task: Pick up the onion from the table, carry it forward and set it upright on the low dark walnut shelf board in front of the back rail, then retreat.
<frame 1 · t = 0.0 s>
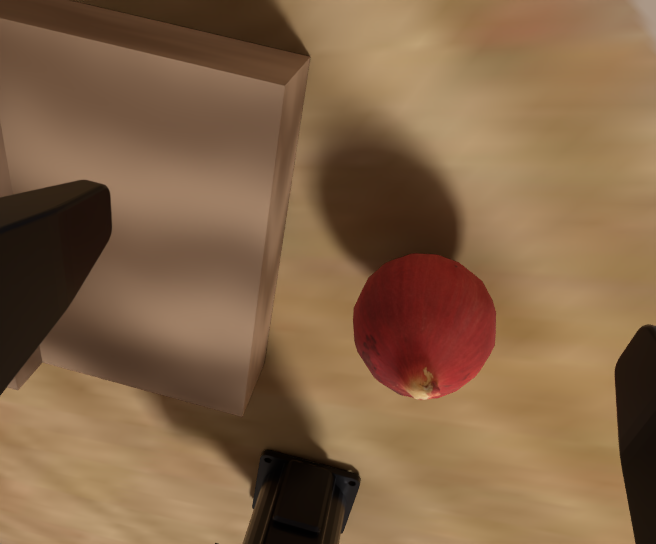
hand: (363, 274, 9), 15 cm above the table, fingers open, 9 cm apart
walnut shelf: (163, 207, 27), on the table
onion: (426, 271, 27), on the table
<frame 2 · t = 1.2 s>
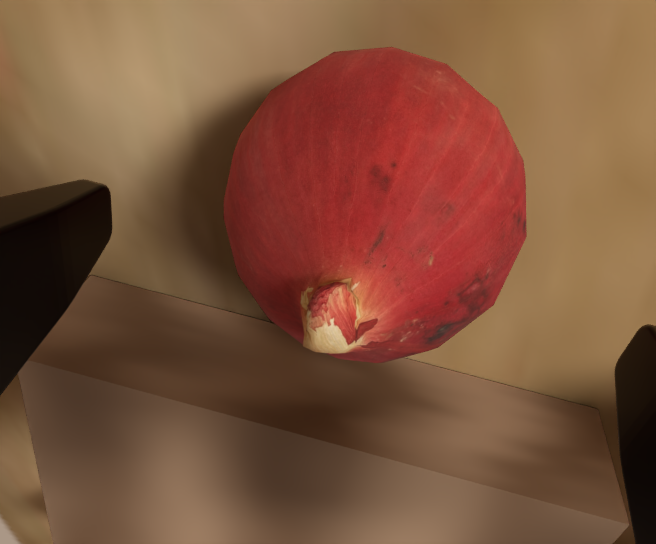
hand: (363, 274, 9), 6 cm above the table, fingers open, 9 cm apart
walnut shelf: (309, 452, 22), on the table
onion: (391, 136, 14), on the table
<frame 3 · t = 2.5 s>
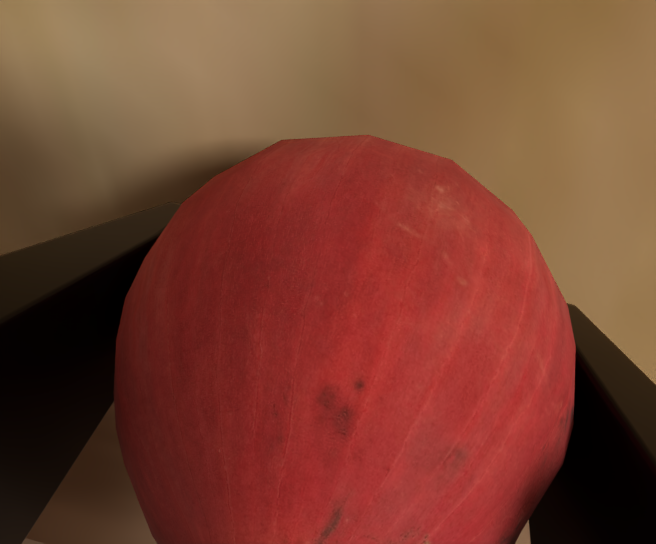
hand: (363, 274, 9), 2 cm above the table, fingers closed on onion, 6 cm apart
onion: (377, 221, 11), on the table, touching gripper
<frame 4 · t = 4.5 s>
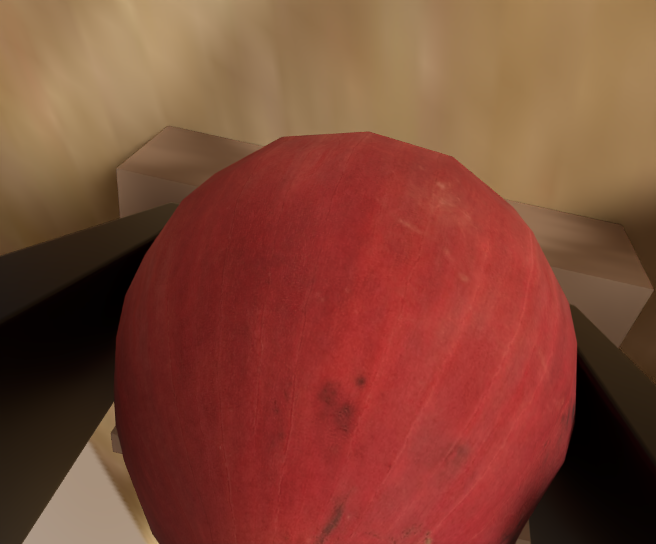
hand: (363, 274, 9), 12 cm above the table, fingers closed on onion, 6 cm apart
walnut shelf: (359, 300, 24), on the table
onion: (377, 219, 11), point 10 cm above the table, touching gripper
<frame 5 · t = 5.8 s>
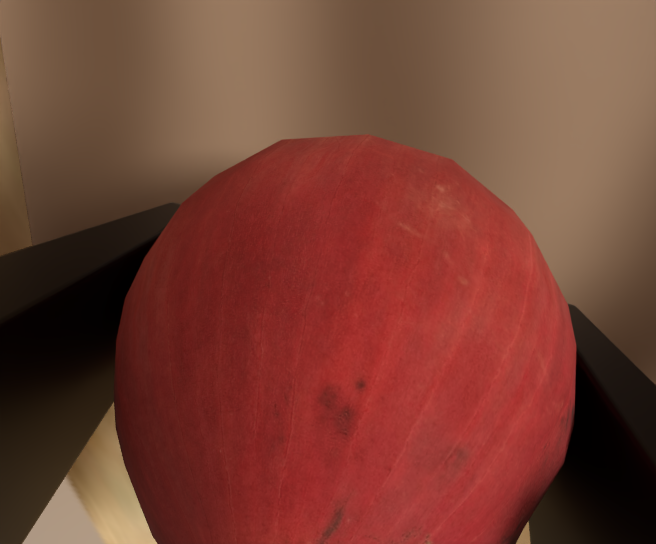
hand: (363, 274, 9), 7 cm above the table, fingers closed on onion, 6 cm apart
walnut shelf: (394, 124, 15), on the table
onion: (376, 221, 11), point 6 cm above the table, touching gripper
when the fingers open (7 cm above the table, at t = 6.6 s): onion drops 2 cm, resting on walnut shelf.
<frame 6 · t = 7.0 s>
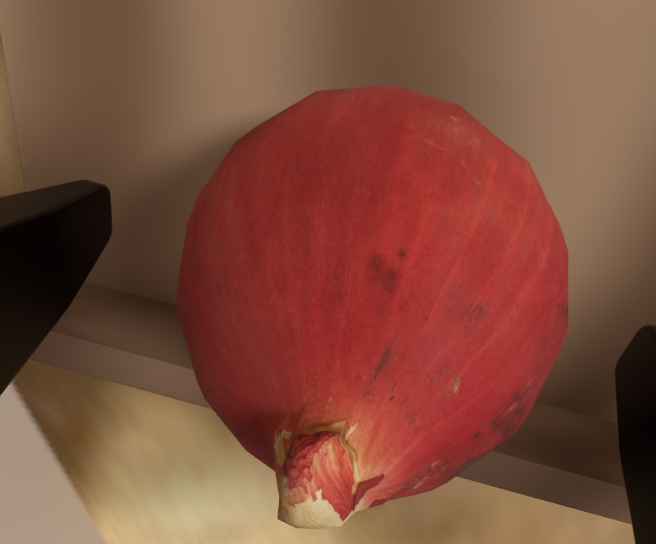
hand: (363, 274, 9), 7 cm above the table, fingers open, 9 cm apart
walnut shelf: (399, 125, 15), on the table
onion: (386, 184, 12), point 4 cm above the table, touching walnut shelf
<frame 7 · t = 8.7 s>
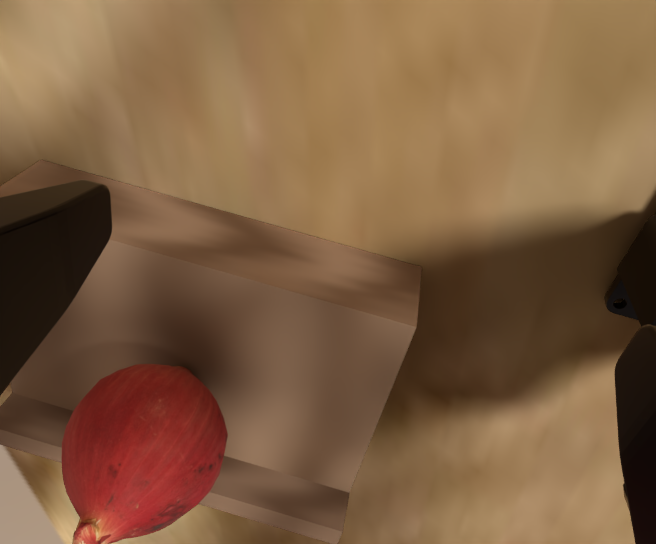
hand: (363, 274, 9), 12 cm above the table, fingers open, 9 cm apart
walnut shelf: (216, 316, 28), on the table
onion: (187, 370, 24), point 4 cm above the table, touching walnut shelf
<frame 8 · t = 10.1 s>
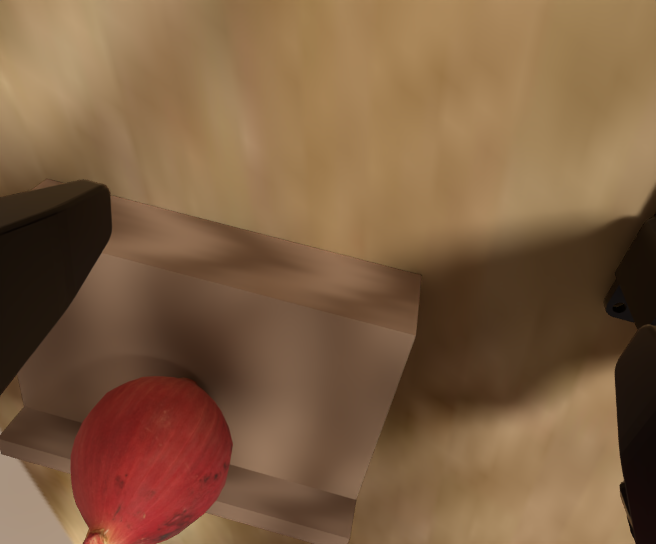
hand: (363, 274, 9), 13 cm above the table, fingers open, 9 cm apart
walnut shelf: (221, 328, 28), on the table
onion: (193, 382, 25), point 4 cm above the table, touching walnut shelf
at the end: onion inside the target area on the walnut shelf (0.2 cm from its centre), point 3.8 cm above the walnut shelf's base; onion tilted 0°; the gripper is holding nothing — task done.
